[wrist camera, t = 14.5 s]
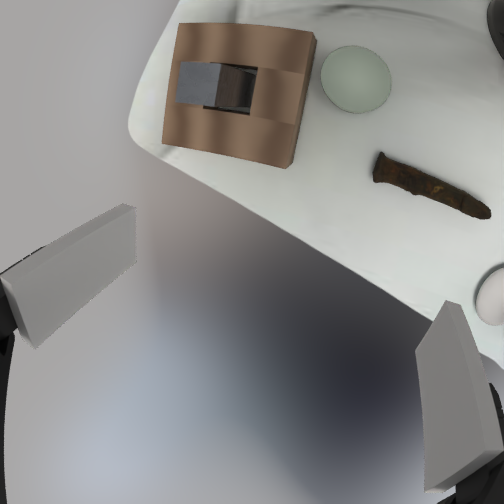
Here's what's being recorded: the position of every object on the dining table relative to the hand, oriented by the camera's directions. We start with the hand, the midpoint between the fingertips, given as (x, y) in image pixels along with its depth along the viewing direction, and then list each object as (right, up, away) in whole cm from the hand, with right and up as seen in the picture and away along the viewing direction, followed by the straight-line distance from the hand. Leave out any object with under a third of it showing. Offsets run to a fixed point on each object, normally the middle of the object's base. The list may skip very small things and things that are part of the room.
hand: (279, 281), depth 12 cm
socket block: (-2, +24, +27) cm, 36 cm away
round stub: (+12, +23, +23) cm, 35 cm away
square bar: (-2, +24, +27) cm, 36 cm away
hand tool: (+25, +11, +25) cm, 37 cm away
